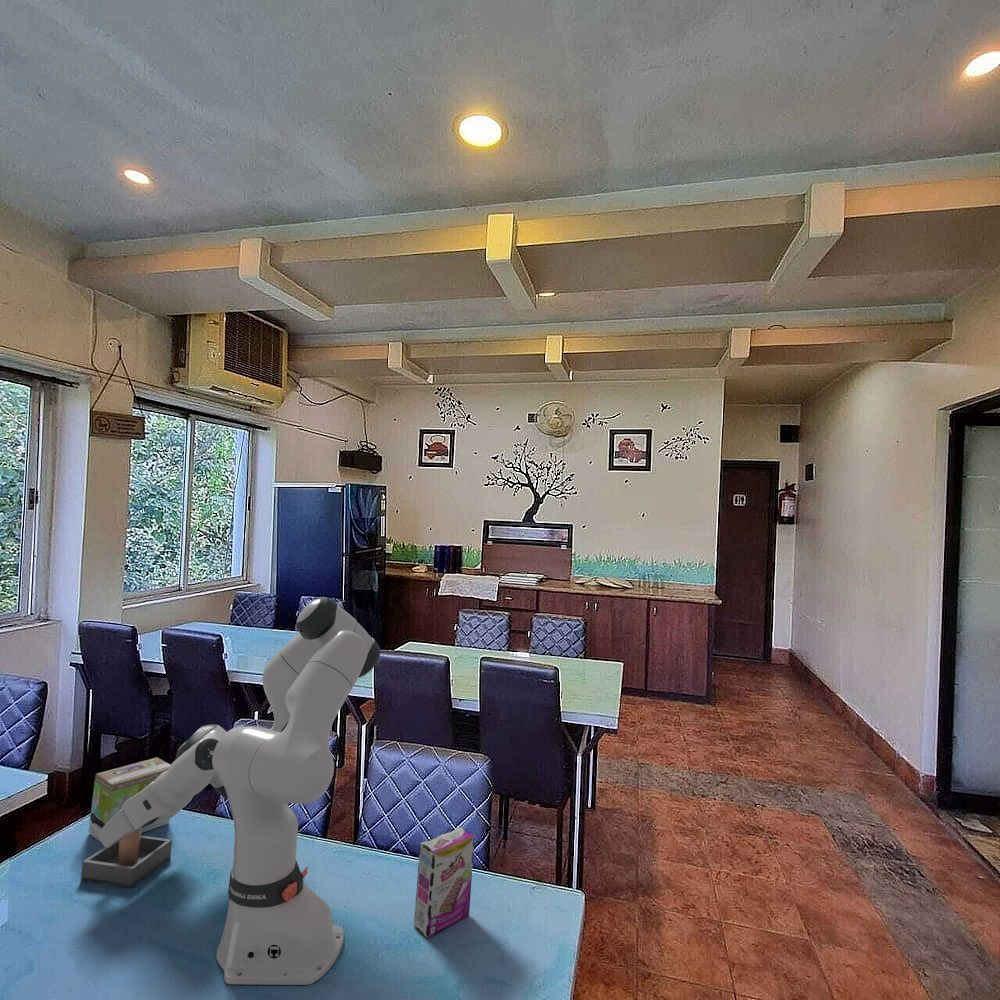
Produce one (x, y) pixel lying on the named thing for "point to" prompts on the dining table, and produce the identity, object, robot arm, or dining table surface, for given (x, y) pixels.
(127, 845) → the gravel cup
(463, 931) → the dining table surface
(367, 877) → the dining table surface
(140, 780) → the tea box
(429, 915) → the candy bar box
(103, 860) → the charcoal bin
